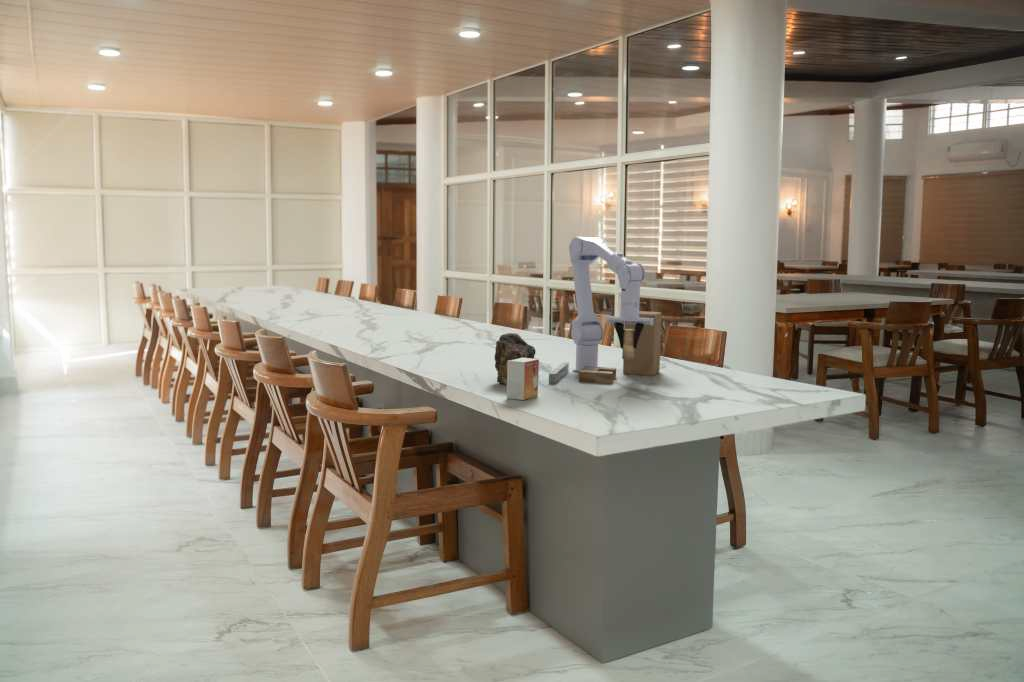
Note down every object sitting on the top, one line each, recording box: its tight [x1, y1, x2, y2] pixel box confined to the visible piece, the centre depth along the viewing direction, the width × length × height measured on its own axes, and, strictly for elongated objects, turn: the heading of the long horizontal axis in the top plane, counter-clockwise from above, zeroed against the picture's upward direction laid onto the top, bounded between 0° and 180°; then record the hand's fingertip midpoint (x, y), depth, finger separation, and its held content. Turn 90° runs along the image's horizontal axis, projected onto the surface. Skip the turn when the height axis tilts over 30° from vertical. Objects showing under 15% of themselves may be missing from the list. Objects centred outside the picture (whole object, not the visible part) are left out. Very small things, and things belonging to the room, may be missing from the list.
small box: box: [506, 358, 540, 401], centre depth 234 cm, size 8×6×10 cm
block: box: [578, 366, 617, 384], centre depth 265 cm, size 12×10×3 cm
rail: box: [548, 362, 570, 385], centre depth 268 cm, size 24×2×3 cm, turn 167°
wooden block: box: [622, 310, 663, 377], centre depth 279 cm, size 10×10×20 cm
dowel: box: [621, 328, 635, 360], centre depth 263 cm, size 4×4×9 cm
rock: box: [494, 332, 537, 387], centre depth 257 cm, size 14×13×15 cm
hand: (628, 347), depth 263 cm, fingers closed on dowel, 4 cm apart
